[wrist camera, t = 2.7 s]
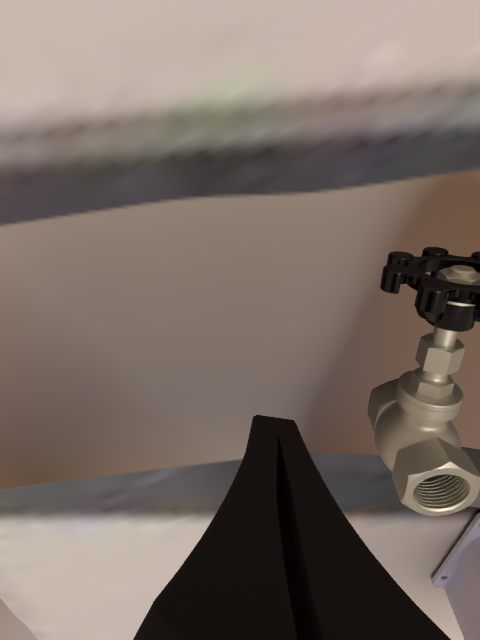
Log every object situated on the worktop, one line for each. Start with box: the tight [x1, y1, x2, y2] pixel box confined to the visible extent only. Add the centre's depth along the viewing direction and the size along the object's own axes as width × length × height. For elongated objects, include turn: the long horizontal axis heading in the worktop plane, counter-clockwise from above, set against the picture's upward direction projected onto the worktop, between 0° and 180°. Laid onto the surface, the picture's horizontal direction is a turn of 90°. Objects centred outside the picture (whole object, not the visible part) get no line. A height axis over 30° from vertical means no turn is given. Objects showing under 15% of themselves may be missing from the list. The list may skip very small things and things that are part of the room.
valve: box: [368, 247, 480, 516], centre depth 18 cm, size 7×7×12 cm
